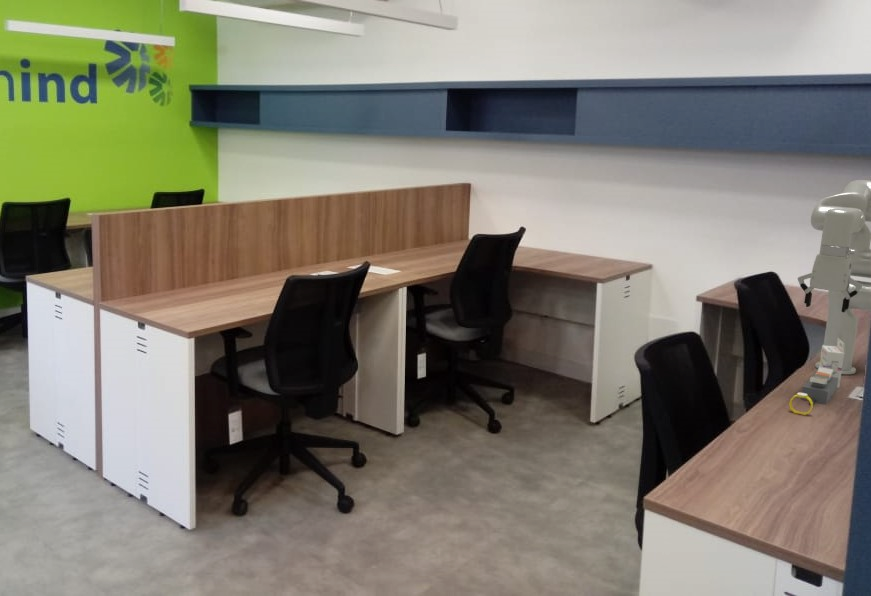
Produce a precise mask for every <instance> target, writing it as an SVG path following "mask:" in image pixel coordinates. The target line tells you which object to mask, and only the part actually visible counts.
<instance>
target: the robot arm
mask: <svg viewBox="0 0 871 596" xmlns="http://www.w3.org/2000/svg"><path fill="white" fill-rule="evenodd" d="M866 222H869V223H871V180H869V179H868V180H867V179H856V180H852V181H850V182H849V183H847V184H846V186H845V188H844V189H843V190H842V192H841V193H838V194H835V195H831V196H827V197H823V198H822V199H820V200H819V201H818V202H817V203H816V205H815V207H814V208H813V210H812V213H811V215H810V223H811V224H810V225H811V226H812V228H813V229H814V230H817V231H822V234H821V241H820V247H819V253H817V254H816V256H815V258H814V262H813V266H812V269H811V272H810V273H807V274H804V275H800V276H798V277H797V281H798V284H799V286H800V288H801V289H802V290H803V292H804V293H805V294H804V302H803V303H804V304H805V307H806V308H809V307H811V304H812V298H813V297H812V296H813V293H812V291H813V290H814V289H817V290H824V291H828V295H827V296H828V297H827V298H828V299H827V300H828V304H827V305H828V306H827V307H828V308H827V317H826V318H827V319H826V326H825V331H824V338H823V344H822V345H824V346H836V347H837V339H838V338H839V339H840V340H841V341H842V342H843V343H844V344H845V348H844V359H843V366H842V373H841V375H855V373H856V372H857V368H855V367H854V366H852V365H853V359H854V358H853V357H854V352H855V344H856V338H857V332H858V328H859V327H858V326H859V321H858V320H859V319H858V317H857V315H856V314H855V312H854V311H853V310H860V311H861V310H862V311H868V312H871V282H870V281H863V280H862V281H861V280H857V279H854V278H853V277H861V278H868V279H871V247H870V246H871V230H870V229H869V227H868V225H867V224H866ZM851 276H852V277H851ZM808 279H810V280H809V286H808V285H807V284H806V283H805V280H808ZM840 346H841V347H842V345H841V344H840ZM819 364H820V361H817V362H815V364H814V366H815V368H816V369H817V370H818V369H819Z"/></svg>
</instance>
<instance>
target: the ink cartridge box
mask: <svg viewBox="0 0 871 596" xmlns="http://www.w3.org/2000/svg"><path fill="white" fill-rule="evenodd" d="M840 344H841V345H842V347H841V346H840ZM844 348H845V344H844V343H843V342H842V341H841V340H840V339H839V338H838V339H837V347H836V346H824V345H823V344H822V345H821V352H820V358H819V362H820V364H819V367H822V368H827V369H833V374H832V376H831V377H835V378H838V383H837V389H840V384H841V378H842V374H841V373H842V366H843V359H844Z"/></svg>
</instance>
